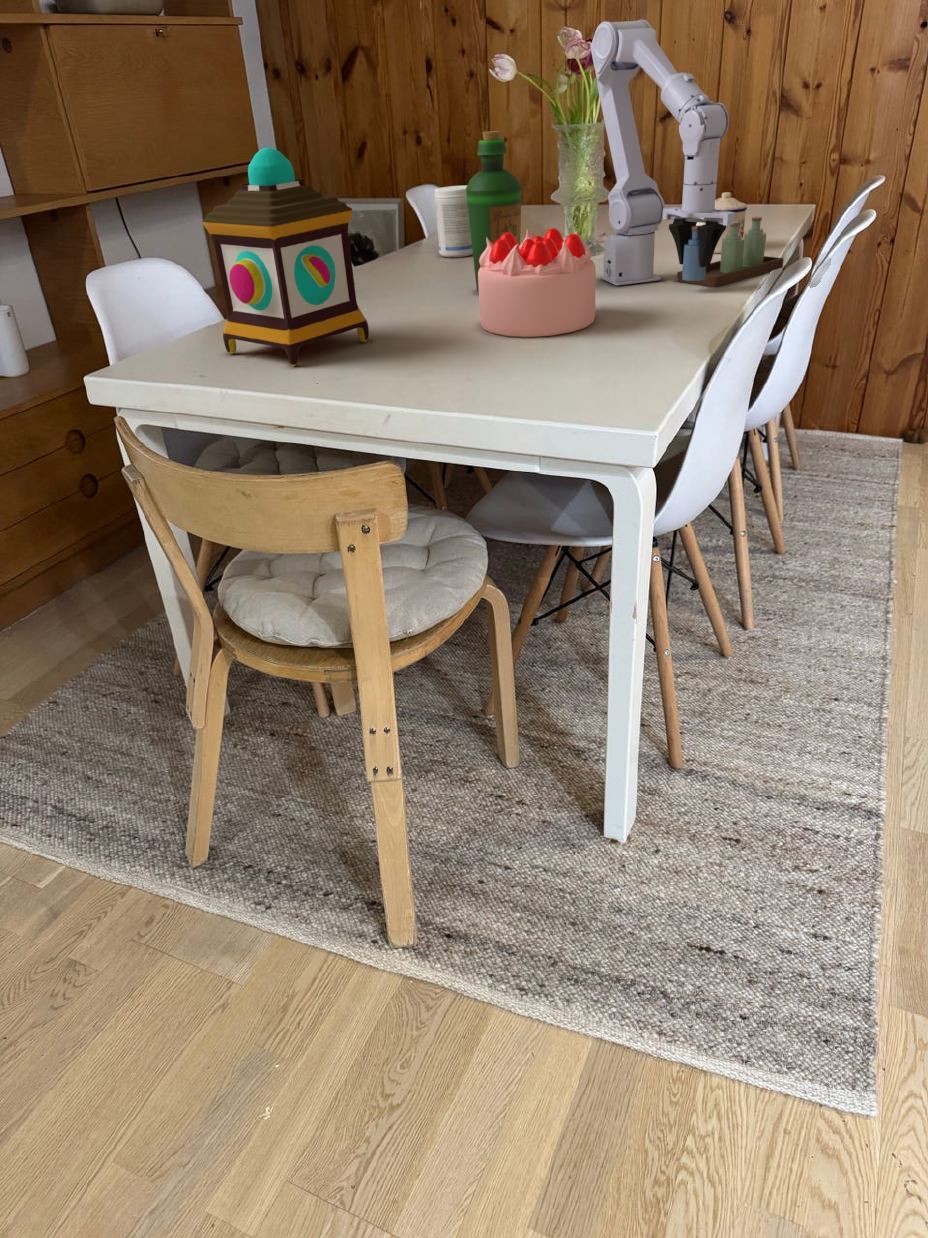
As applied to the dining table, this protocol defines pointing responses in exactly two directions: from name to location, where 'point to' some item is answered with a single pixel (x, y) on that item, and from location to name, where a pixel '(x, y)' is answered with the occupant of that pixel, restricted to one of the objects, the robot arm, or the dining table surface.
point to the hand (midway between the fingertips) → (694, 264)
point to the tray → (734, 272)
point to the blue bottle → (693, 259)
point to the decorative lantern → (284, 261)
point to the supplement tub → (453, 221)
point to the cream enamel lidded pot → (731, 206)
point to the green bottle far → (754, 244)
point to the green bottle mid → (732, 250)
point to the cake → (536, 285)
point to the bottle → (492, 198)
